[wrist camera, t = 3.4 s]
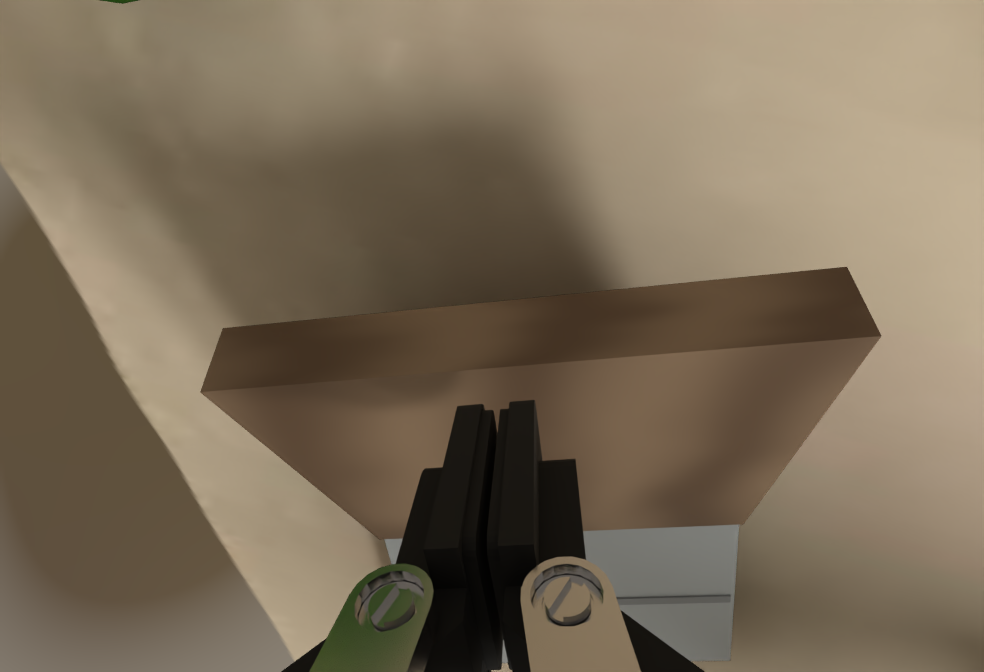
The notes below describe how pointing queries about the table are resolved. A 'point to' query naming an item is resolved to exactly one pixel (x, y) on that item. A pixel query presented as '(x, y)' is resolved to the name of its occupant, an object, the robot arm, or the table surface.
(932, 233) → the table surface
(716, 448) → the plank
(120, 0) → the bell pepper
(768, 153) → the table surface
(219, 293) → the table surface
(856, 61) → the table surface
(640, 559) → the laid boards
